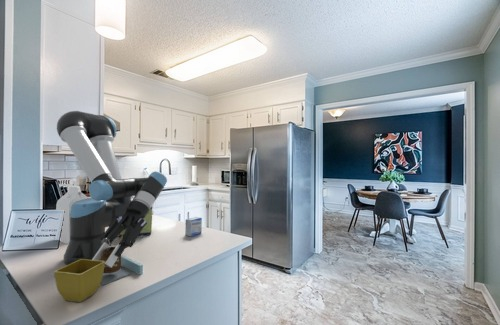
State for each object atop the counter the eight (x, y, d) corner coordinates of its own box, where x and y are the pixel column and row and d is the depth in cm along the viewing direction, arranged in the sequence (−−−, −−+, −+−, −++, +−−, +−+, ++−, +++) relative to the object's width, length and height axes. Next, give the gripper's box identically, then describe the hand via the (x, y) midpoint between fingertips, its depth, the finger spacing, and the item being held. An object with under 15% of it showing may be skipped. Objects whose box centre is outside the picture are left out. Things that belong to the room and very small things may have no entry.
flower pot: (52, 304, 64) (52, 271, 64) (80, 287, 73) (81, 258, 73) (79, 308, 63) (80, 274, 63) (105, 290, 71) (106, 261, 71)
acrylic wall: (119, 264, 90) (119, 256, 90) (121, 263, 91) (122, 255, 91) (139, 274, 82) (140, 265, 82) (142, 273, 83) (142, 264, 83)
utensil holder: (102, 267, 82) (103, 232, 82) (123, 264, 84) (124, 231, 84) (98, 275, 76) (99, 238, 76) (120, 272, 79) (121, 236, 79)
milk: (93, 237, 120) (94, 186, 120) (68, 243, 110) (69, 188, 110) (79, 233, 125) (80, 184, 125) (53, 239, 115) (54, 186, 115)
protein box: (151, 235, 125) (152, 205, 125) (118, 237, 120) (119, 207, 120) (151, 229, 135) (152, 202, 135) (121, 232, 129) (121, 203, 129)
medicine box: (190, 236, 124) (191, 220, 124) (185, 235, 126) (185, 219, 126) (201, 233, 130) (202, 217, 130) (196, 231, 133) (196, 216, 133)
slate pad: (89, 277, 79) (89, 276, 79) (117, 267, 87) (117, 266, 87) (102, 285, 74) (102, 284, 74) (130, 274, 82) (130, 273, 82)
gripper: (164, 212, 92) (129, 273, 76) (128, 209, 98) (88, 264, 82) (155, 201, 87) (115, 263, 71) (117, 198, 93) (73, 255, 77)
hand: (101, 264), depth 77 cm, fingers closed on utensil holder, 5 cm apart
